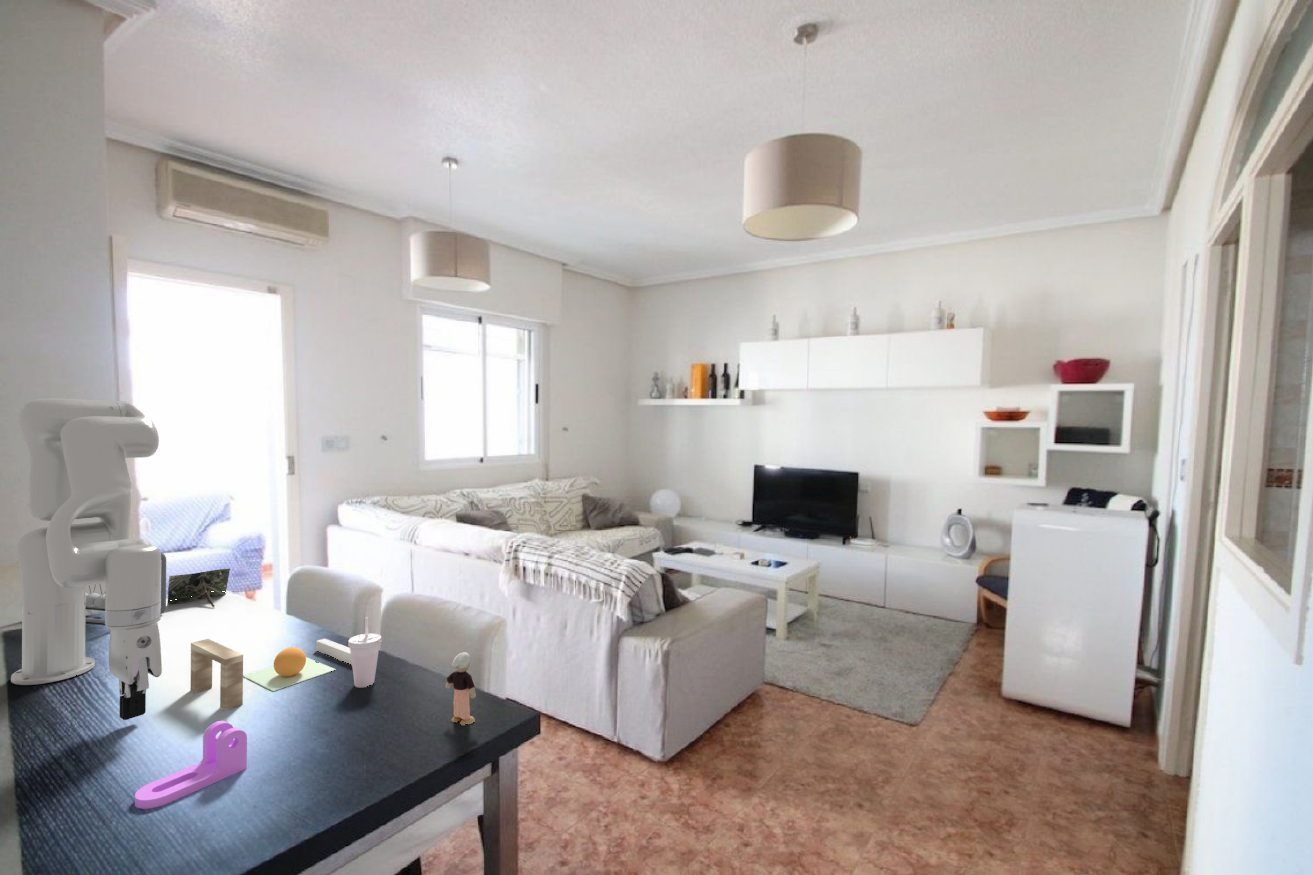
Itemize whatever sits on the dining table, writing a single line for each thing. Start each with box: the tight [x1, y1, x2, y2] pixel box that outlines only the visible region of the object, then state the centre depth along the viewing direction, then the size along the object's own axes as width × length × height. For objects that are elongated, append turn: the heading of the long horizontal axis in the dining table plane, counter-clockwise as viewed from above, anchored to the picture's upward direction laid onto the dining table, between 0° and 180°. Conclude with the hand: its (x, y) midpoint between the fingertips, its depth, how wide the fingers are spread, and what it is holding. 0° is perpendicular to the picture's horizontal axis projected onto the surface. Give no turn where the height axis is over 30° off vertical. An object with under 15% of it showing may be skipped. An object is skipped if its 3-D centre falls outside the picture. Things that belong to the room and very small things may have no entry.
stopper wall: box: [315, 638, 352, 666], centre depth 139 cm, size 16×2×2 cm, turn 58°
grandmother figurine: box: [444, 651, 477, 726], centre depth 111 cm, size 8×4×13 cm, turn 71°
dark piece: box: [166, 568, 231, 608], centre depth 176 cm, size 15×10×13 cm
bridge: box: [189, 638, 244, 711], centre depth 118 cm, size 3×15×10 cm, turn 58°
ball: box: [273, 646, 307, 677], centre depth 129 cm, size 6×6×6 cm
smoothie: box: [347, 616, 382, 689], centre depth 126 cm, size 6×6×14 cm
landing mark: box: [243, 656, 337, 692], centre depth 130 cm, size 13×13×1 cm
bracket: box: [134, 720, 248, 810], centre depth 90 cm, size 13×6×7 cm, turn 150°
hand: (132, 715), depth 107 cm, fingers closed
